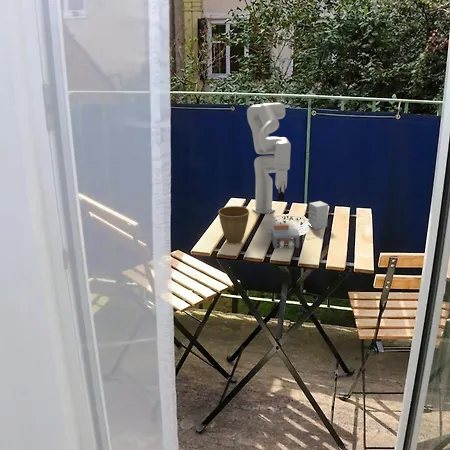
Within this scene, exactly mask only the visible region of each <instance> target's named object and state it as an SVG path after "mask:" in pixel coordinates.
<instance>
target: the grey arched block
mask: <svg viewBox="0 0 450 450" xmlns="http://www.w3.org/2000/svg"><path fill="white" fill-rule="evenodd" d="M289 227H290V226H289V224H288V223H284V224H283V223H278V224H275V223H274V224H273V230H289ZM281 240H283V241H284V246H287V245H288V244H289V240H292V241H293V239H292V238H277V246H280V241H281ZM286 244H287V245H286ZM288 246H289V245H288Z"/></svg>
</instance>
